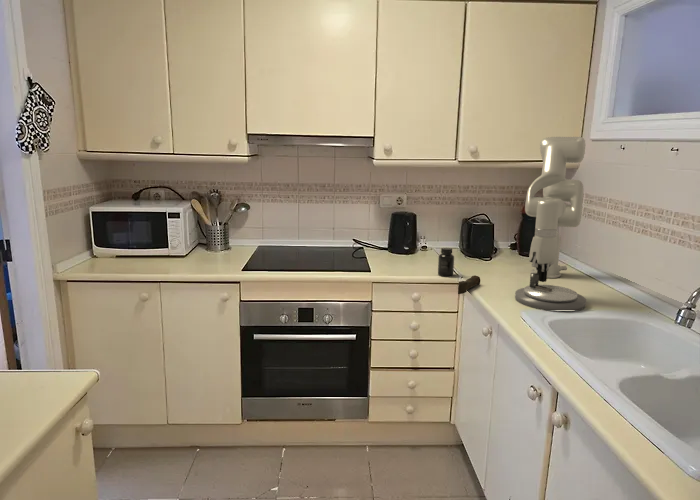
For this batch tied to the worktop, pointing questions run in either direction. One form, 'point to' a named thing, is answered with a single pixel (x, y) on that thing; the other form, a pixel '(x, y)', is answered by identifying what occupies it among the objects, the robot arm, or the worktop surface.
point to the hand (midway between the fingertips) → (541, 280)
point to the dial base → (539, 304)
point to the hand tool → (468, 284)
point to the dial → (548, 291)
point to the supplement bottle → (446, 263)
